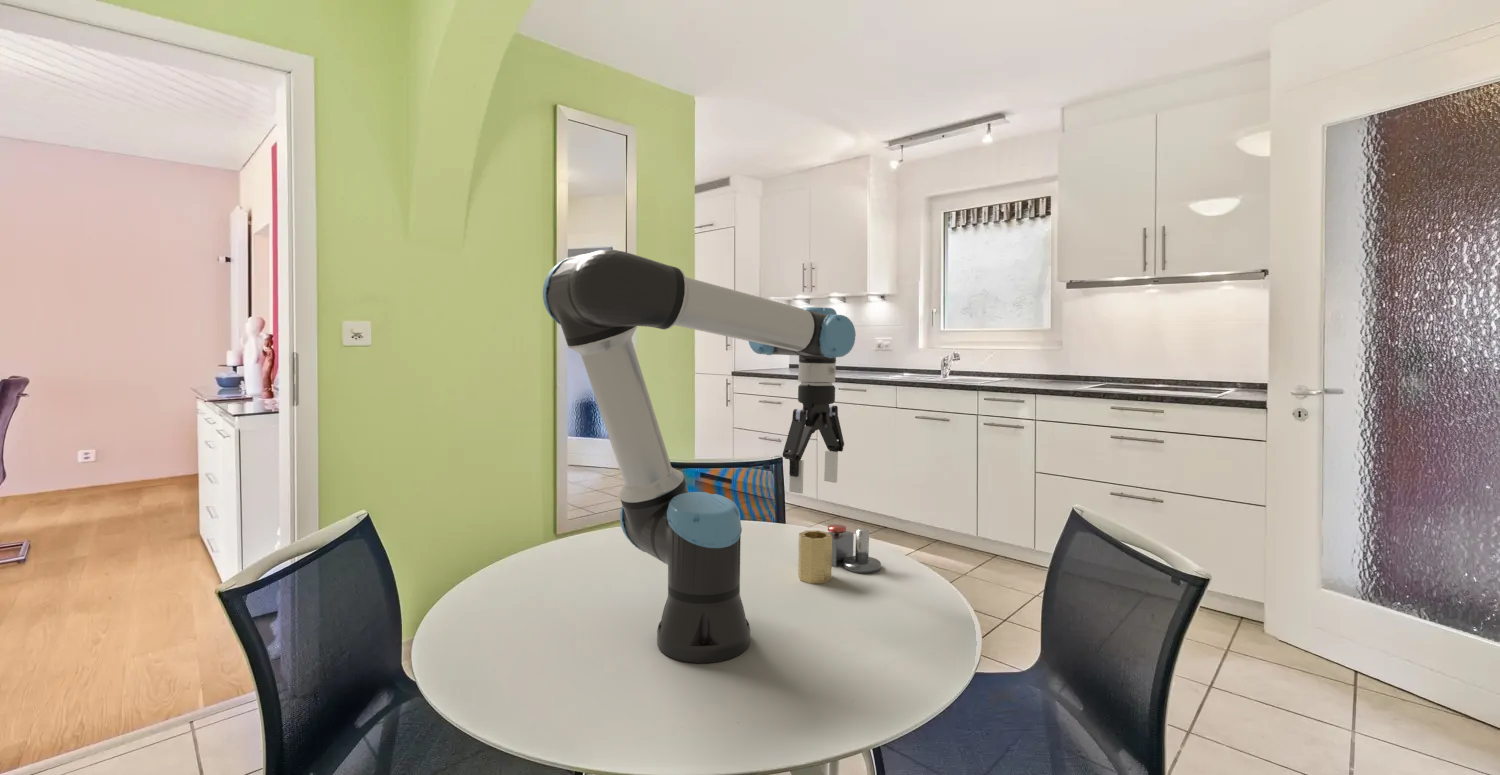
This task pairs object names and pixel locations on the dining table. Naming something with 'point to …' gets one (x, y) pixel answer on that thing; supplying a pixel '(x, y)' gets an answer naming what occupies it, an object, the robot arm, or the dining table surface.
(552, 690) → the dining table surface
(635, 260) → the robot arm
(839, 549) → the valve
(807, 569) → the tan octagonal tube
